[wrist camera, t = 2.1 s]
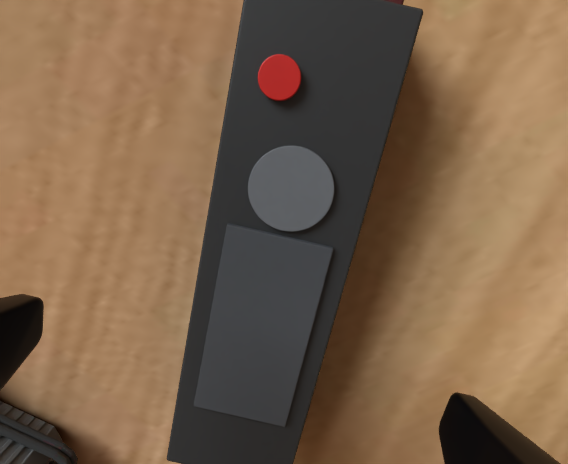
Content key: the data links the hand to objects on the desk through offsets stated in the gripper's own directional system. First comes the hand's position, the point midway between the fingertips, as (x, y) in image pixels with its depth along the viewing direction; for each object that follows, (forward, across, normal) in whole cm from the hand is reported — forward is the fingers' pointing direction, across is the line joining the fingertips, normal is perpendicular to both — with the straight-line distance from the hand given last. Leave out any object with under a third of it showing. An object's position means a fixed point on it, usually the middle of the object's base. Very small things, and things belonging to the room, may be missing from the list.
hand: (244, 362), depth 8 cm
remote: (+7, 0, 0) cm, 7 cm away
